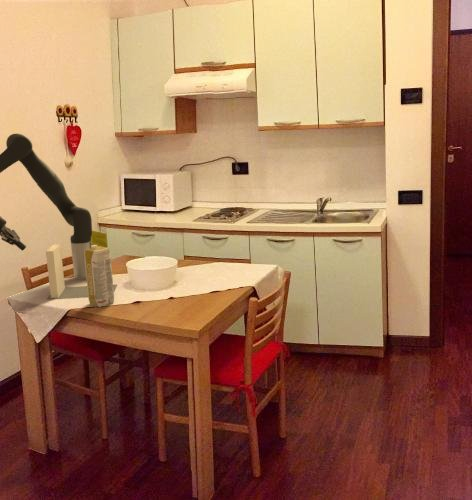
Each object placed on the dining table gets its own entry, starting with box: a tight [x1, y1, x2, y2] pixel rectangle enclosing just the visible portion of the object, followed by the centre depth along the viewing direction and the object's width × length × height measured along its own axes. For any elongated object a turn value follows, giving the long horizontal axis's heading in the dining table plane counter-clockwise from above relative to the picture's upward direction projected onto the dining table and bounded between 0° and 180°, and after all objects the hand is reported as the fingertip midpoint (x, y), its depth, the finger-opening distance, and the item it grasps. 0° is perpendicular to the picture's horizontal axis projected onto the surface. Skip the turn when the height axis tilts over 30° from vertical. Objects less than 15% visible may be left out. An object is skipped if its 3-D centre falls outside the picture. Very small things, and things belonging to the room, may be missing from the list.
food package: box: [91, 230, 109, 248], centre depth 307 cm, size 15×1×20 cm, turn 41°
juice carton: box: [84, 244, 115, 308], centre depth 256 cm, size 9×8×24 cm
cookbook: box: [45, 243, 66, 298], centre depth 273 cm, size 3×14×20 cm, turn 3°
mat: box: [45, 284, 118, 301], centre depth 276 cm, size 27×18×1 cm, turn 93°
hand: (24, 248), depth 270 cm, fingers closed
